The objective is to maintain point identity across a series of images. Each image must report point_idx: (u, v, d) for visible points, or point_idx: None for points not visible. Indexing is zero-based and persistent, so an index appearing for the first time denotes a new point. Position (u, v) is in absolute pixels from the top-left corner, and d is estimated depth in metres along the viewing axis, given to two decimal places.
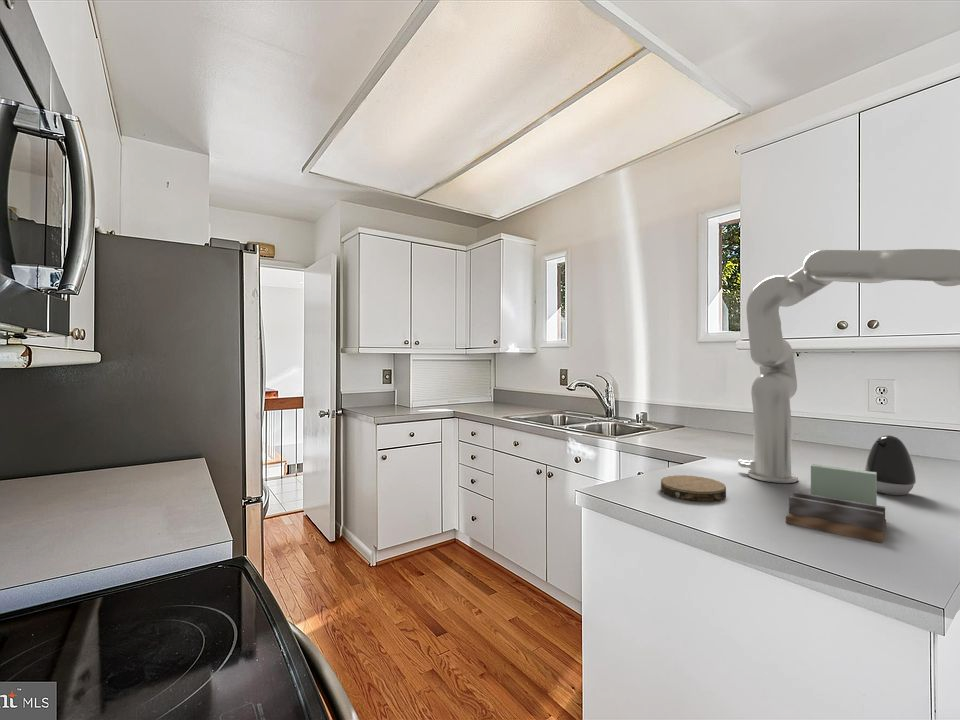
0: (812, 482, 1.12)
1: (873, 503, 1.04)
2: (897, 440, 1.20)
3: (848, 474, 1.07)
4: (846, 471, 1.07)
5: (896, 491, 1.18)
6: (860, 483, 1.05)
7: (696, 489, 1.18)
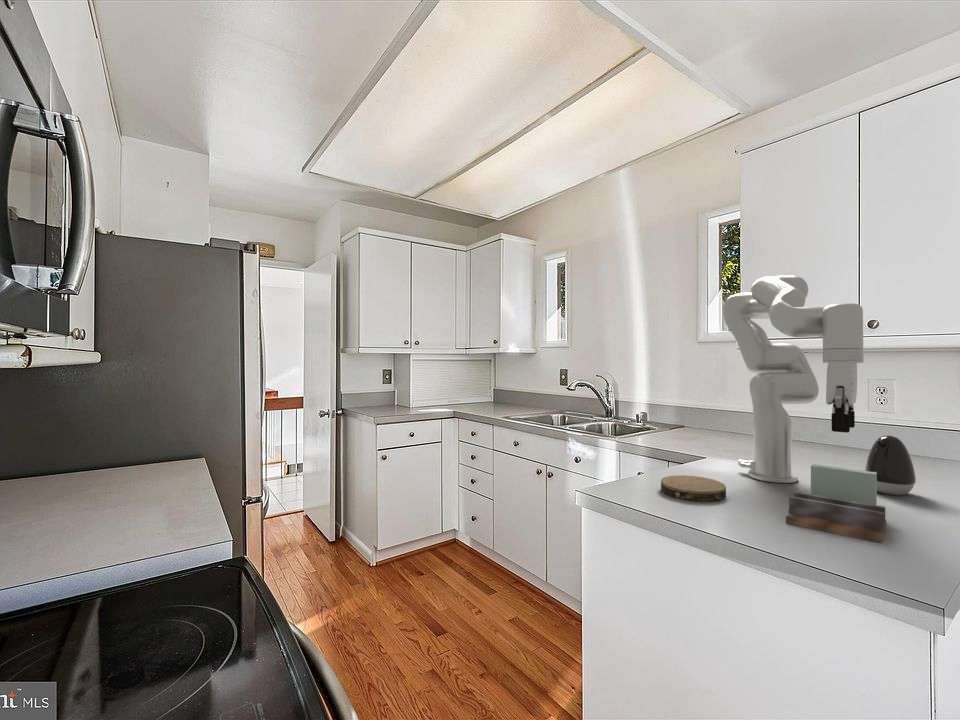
0: (812, 482, 1.12)
1: (873, 503, 1.04)
2: (897, 440, 1.20)
3: (848, 474, 1.07)
4: (846, 471, 1.07)
5: (896, 491, 1.18)
6: (860, 483, 1.05)
7: (696, 489, 1.18)
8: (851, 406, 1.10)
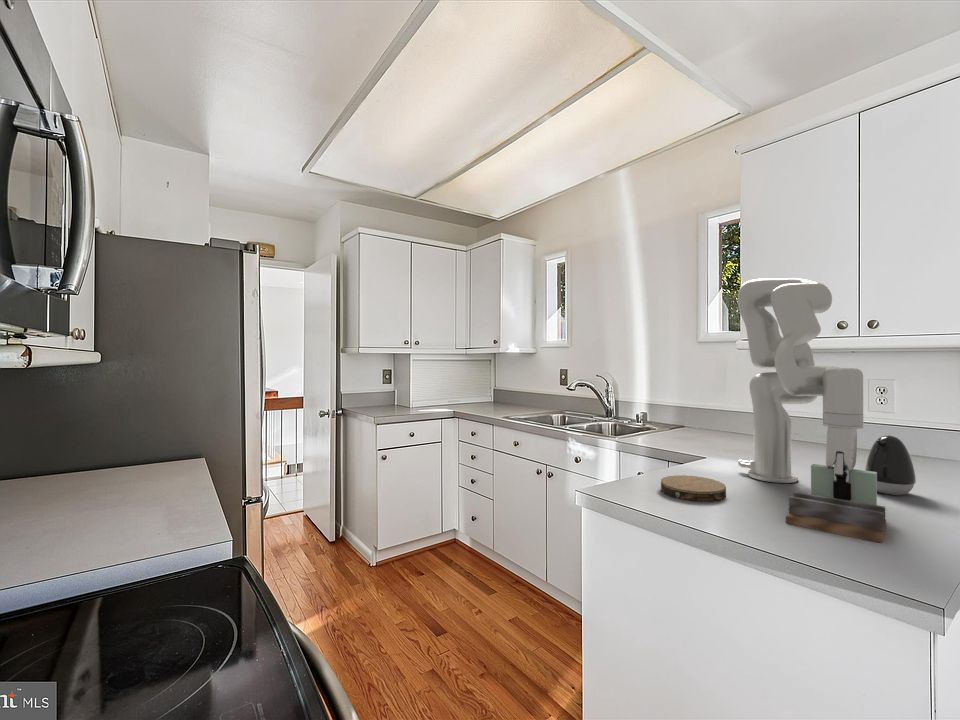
0: (812, 482, 1.11)
1: (873, 503, 1.04)
2: (897, 440, 1.20)
3: (849, 474, 1.07)
4: None
5: (896, 491, 1.18)
6: (860, 482, 1.05)
7: (696, 489, 1.18)
8: None
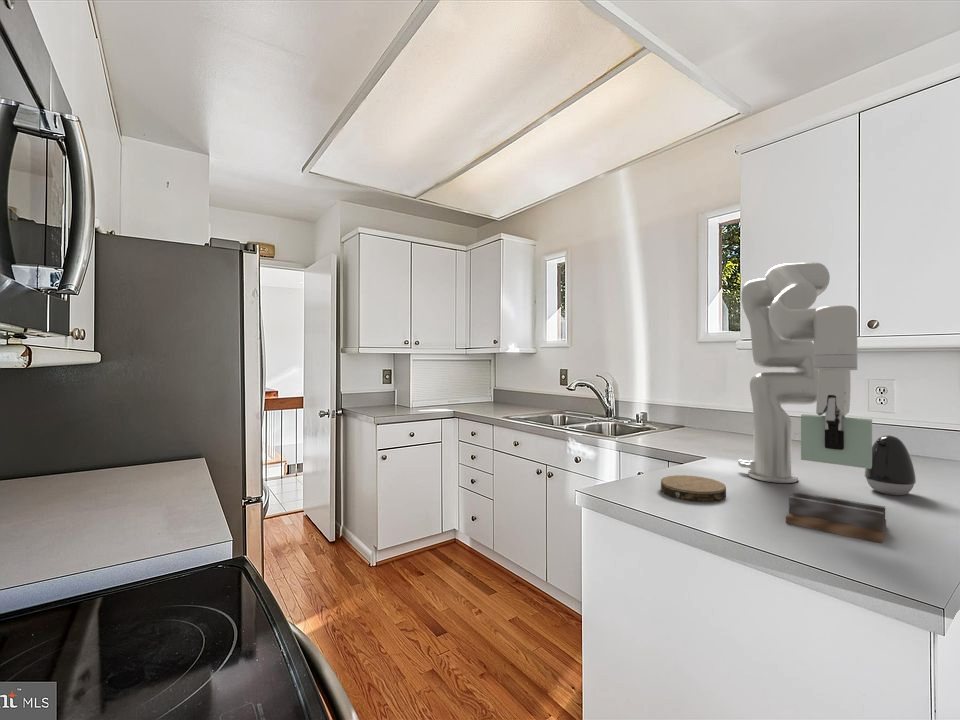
0: (802, 433, 1.03)
1: (868, 452, 0.95)
2: (897, 440, 1.20)
3: None
4: None
5: (896, 491, 1.18)
6: (854, 431, 0.96)
7: (696, 489, 1.18)
8: None
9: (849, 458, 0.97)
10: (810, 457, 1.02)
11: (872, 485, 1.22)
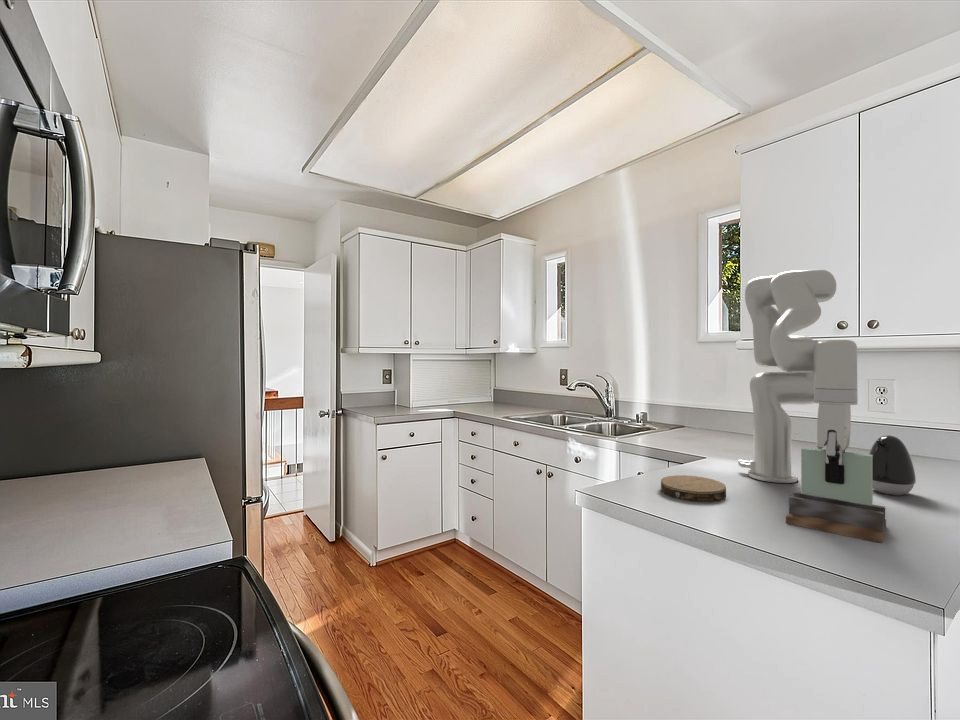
0: (803, 466, 1.03)
1: (868, 488, 0.95)
2: (897, 440, 1.20)
3: (842, 457, 0.98)
4: None
5: (896, 491, 1.18)
6: (854, 466, 0.96)
7: (696, 489, 1.18)
8: None
9: (850, 493, 0.97)
10: (810, 491, 1.02)
11: None
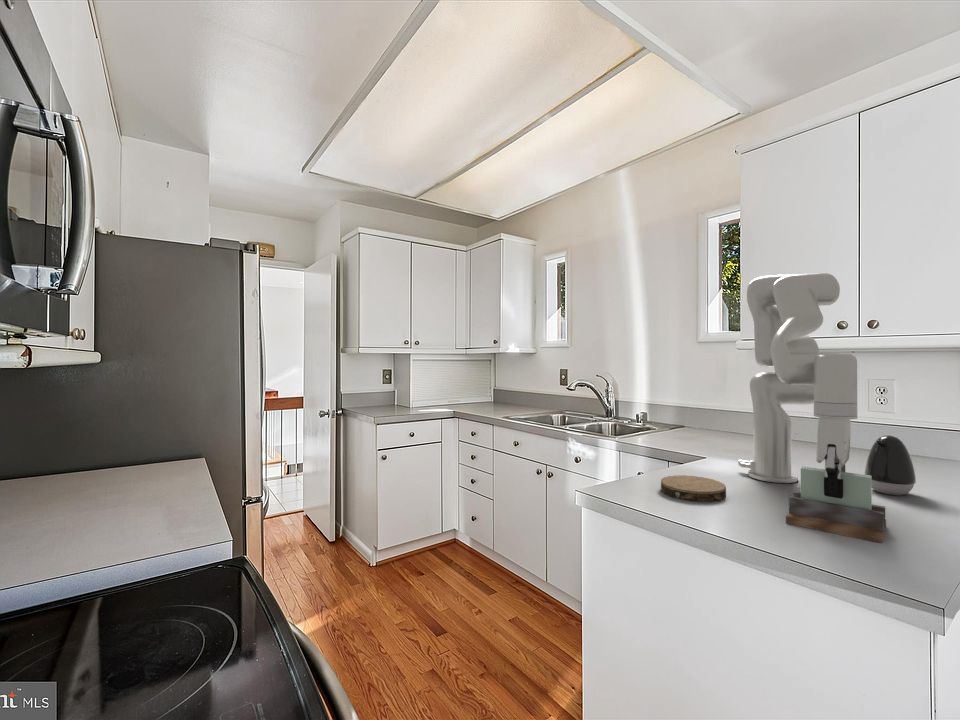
0: (802, 486, 1.03)
1: (868, 509, 0.95)
2: (897, 440, 1.20)
3: (841, 478, 0.98)
4: None
5: (896, 491, 1.18)
6: (853, 487, 0.97)
7: (696, 489, 1.18)
8: (843, 467, 1.01)
9: None
10: None
11: (872, 485, 1.22)
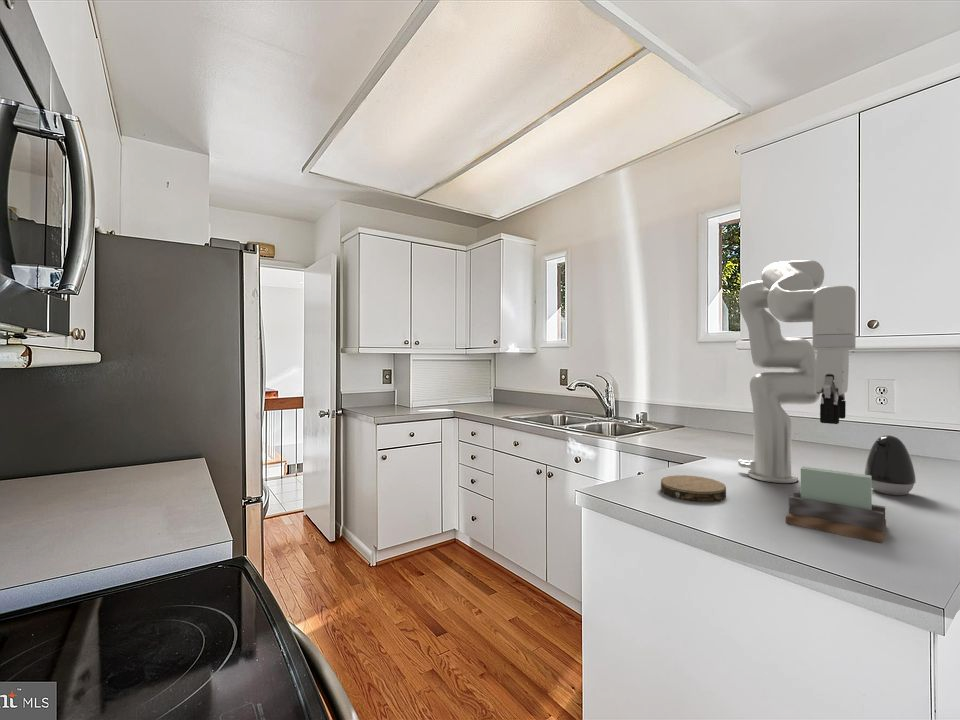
0: (802, 486, 1.03)
1: (868, 509, 0.95)
2: (897, 440, 1.20)
3: (841, 478, 0.98)
4: (838, 474, 0.98)
5: (896, 491, 1.18)
6: (853, 487, 0.97)
7: (696, 489, 1.18)
8: (842, 396, 1.04)
9: None
10: None
11: (872, 485, 1.22)
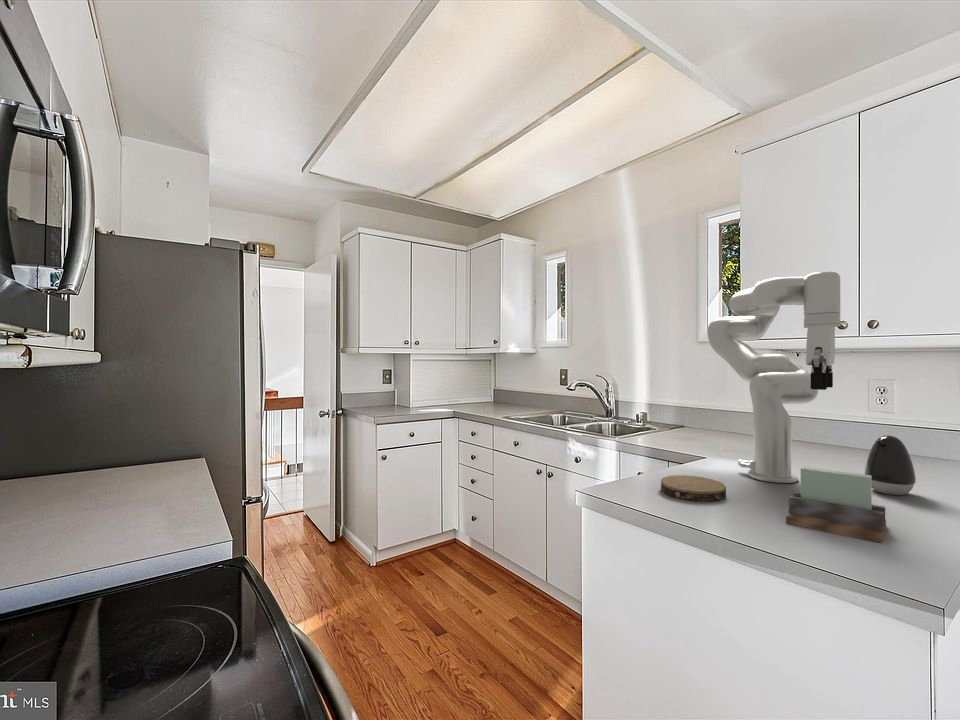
0: (802, 486, 1.03)
1: (868, 509, 0.95)
2: (897, 440, 1.20)
3: (841, 478, 0.98)
4: (838, 474, 0.98)
5: (896, 491, 1.18)
6: (853, 487, 0.97)
7: (696, 489, 1.18)
8: (829, 367, 1.20)
9: None
10: None
11: (872, 485, 1.22)
